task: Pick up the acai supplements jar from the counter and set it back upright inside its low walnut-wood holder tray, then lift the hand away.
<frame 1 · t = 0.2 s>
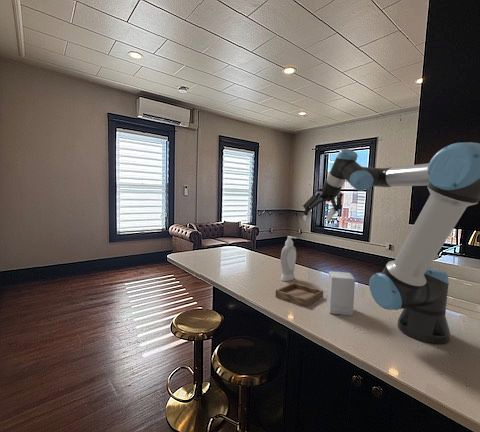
hand: (316, 219, 130), 35 cm above the countertop, tool tilted 35°, fingers open, 13 cm apart
soap bottle: (289, 280, 146), on the countertop
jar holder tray: (299, 297, 122), on the countertop
supplement box: (339, 310, 109), on the countertop
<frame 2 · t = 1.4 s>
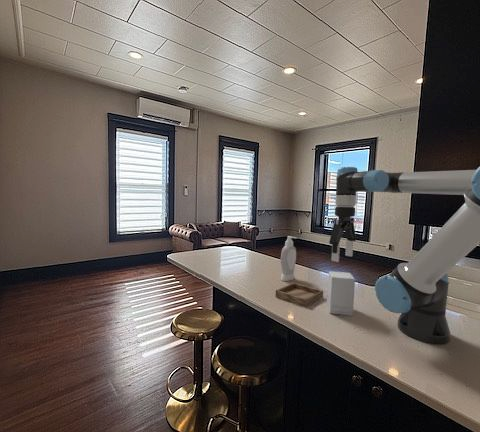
hand: (342, 258, 107), 22 cm above the countertop, tool pointing down, fingers open, 13 cm apart
nothing on the countertop moved.
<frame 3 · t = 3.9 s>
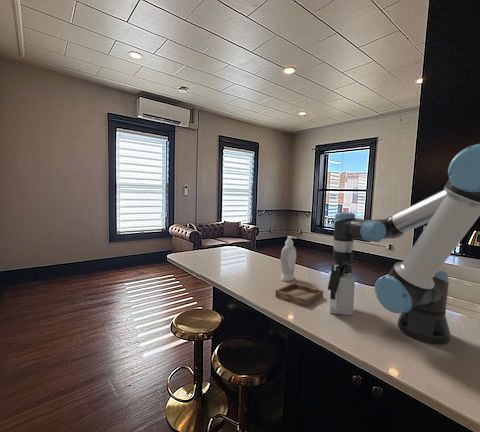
hand: (339, 302, 108), 3 cm above the countertop, tool pointing down, fingers closed on supplement box, 12 cm apart
supplement box: (339, 310, 109), on the countertop, touching gripper
everything else where it was.
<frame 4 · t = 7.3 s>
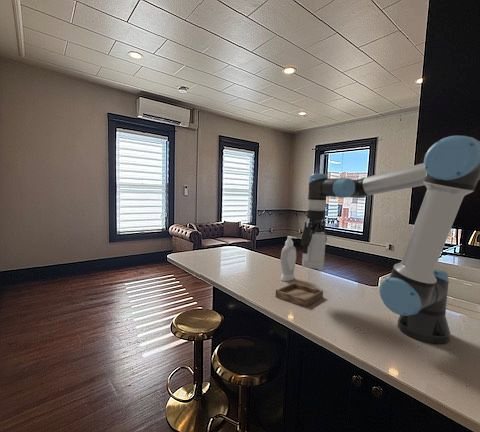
hand: (312, 258, 116), 19 cm above the countertop, tool pointing down, fingers closed on supplement box, 12 cm apart
supplement box: (312, 266, 117), point 16 cm above the countertop, touching gripper
everything else where it was.
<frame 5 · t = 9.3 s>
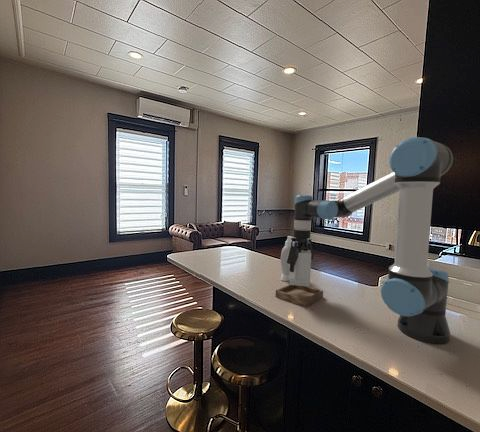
hand: (299, 275, 121), 10 cm above the countertop, tool pointing down, fingers closed on supplement box, 12 cm apart
supplement box: (299, 283, 121), point 6 cm above the countertop, touching gripper
everything else where it was.
when the fingers open (6 cm above the countertop, at t = 10.7 s): supplement box drops 2 cm, resting on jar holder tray.
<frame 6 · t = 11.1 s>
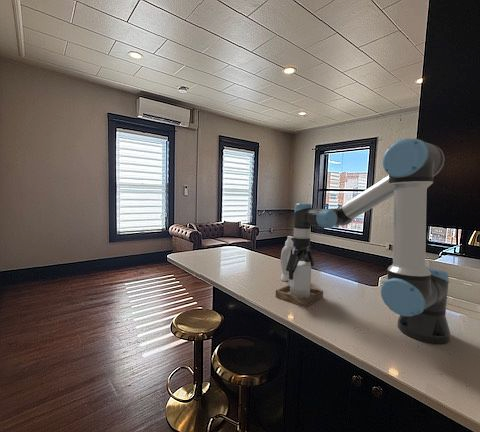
hand: (299, 282, 121), 7 cm above the countertop, tool pointing down, fingers open, 13 cm apart
supplement box: (299, 295, 122), point 1 cm above the countertop, touching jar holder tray
everything else where it was.
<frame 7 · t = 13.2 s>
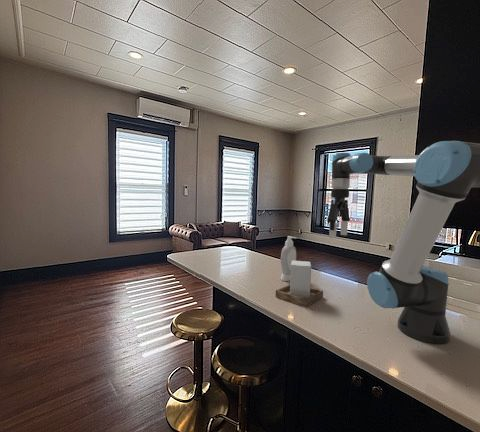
hand: (338, 236, 118), 29 cm above the countertop, tool pointing down, fingers open, 13 cm apart
nothing on the countertop moved.
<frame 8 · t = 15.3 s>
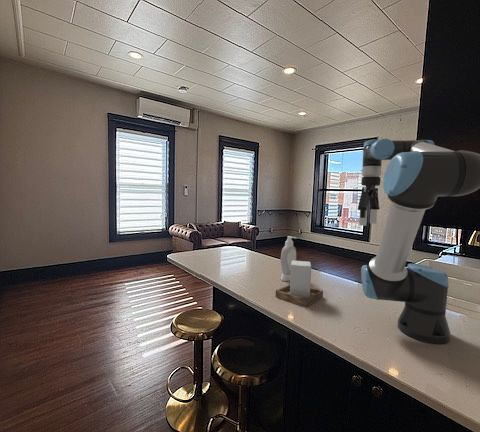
hand: (368, 224, 117), 35 cm above the countertop, tool pointing down, fingers open, 13 cm apart
nothing on the countertop moved.
at the end: supplement box 0.3 cm off-centre on the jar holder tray, point 0.8 cm above the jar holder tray's base; supplement box tilted 0°; the gripper is holding nothing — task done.
